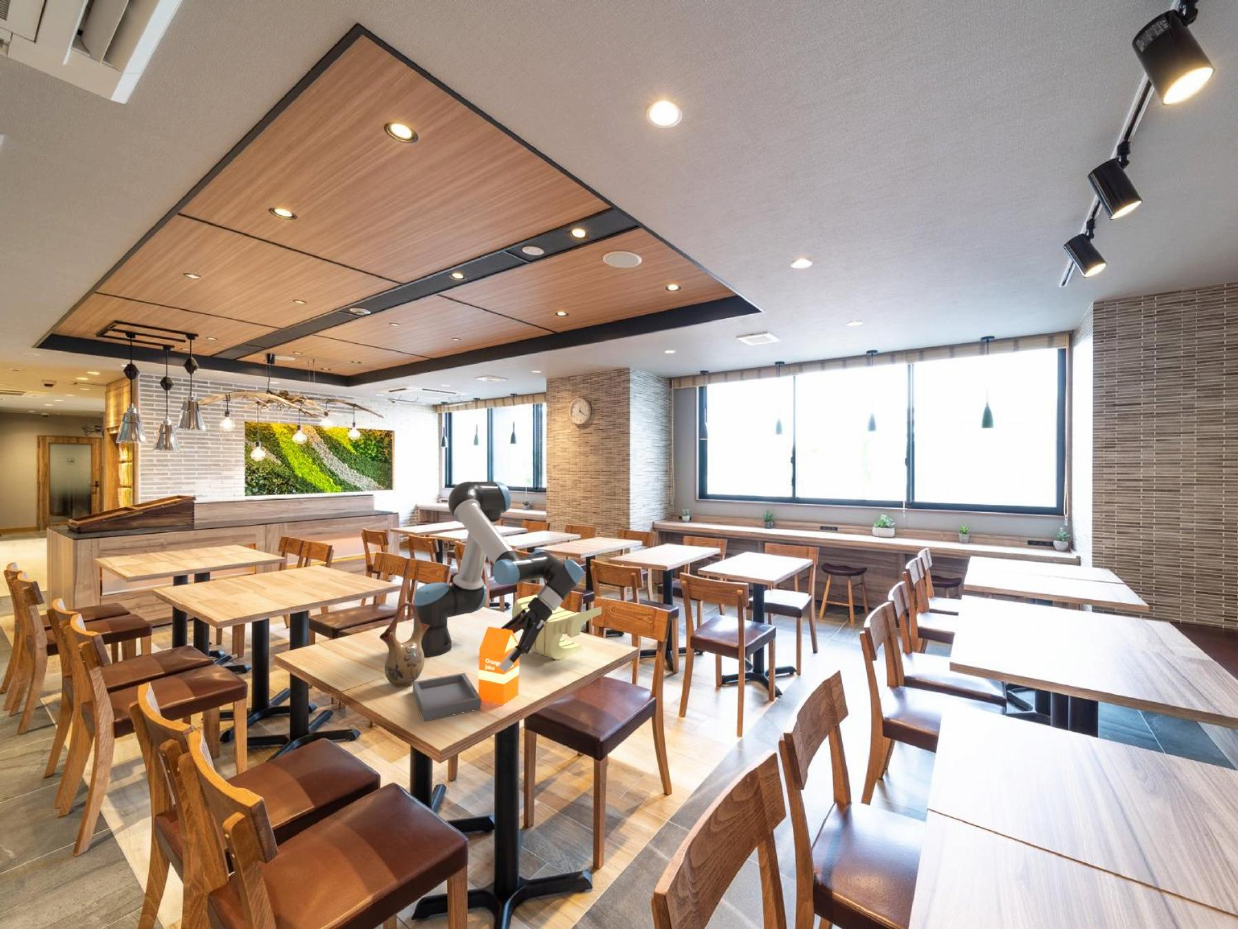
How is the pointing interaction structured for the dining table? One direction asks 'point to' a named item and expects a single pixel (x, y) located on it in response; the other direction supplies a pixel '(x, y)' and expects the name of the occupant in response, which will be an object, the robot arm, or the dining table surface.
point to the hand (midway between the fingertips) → (494, 662)
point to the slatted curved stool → (557, 629)
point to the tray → (445, 696)
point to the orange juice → (491, 677)
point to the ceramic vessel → (404, 652)
